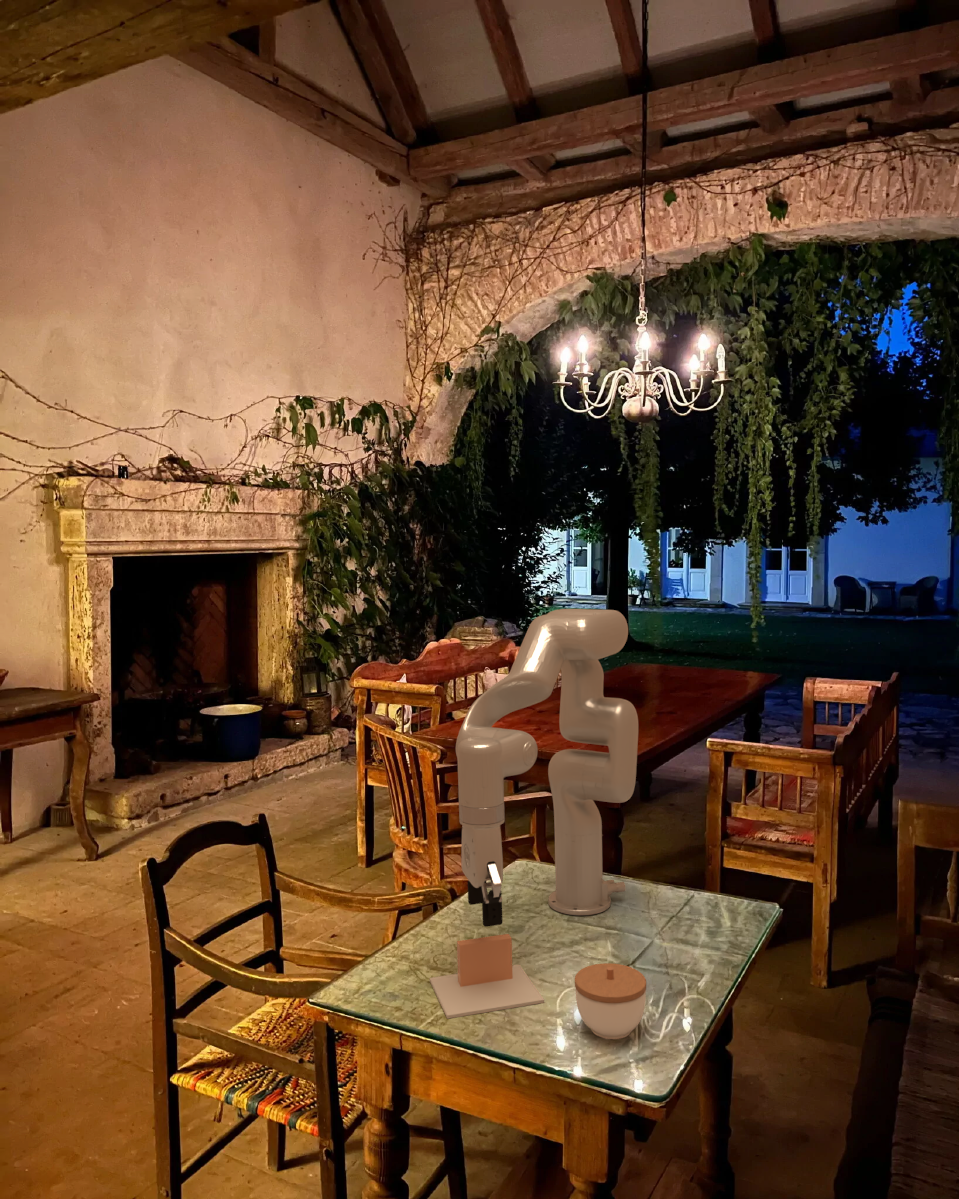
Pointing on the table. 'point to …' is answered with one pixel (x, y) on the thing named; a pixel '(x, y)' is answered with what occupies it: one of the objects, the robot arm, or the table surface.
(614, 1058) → the table surface
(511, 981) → the mat
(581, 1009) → the lidded jar
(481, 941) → the block
